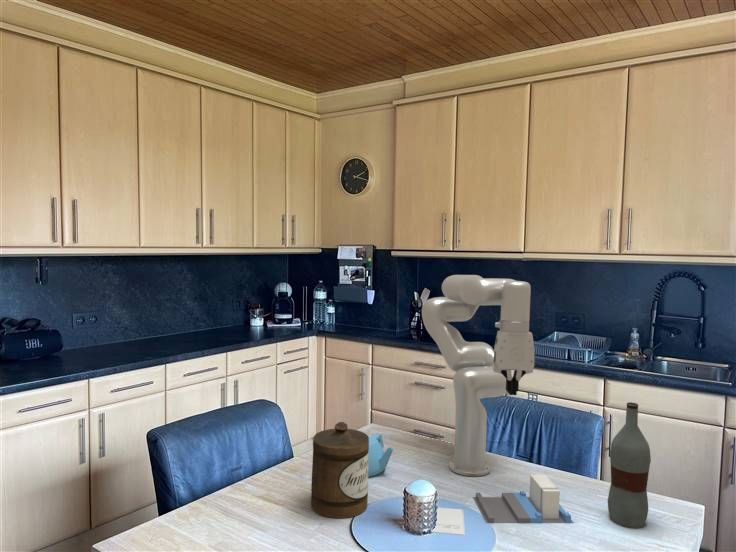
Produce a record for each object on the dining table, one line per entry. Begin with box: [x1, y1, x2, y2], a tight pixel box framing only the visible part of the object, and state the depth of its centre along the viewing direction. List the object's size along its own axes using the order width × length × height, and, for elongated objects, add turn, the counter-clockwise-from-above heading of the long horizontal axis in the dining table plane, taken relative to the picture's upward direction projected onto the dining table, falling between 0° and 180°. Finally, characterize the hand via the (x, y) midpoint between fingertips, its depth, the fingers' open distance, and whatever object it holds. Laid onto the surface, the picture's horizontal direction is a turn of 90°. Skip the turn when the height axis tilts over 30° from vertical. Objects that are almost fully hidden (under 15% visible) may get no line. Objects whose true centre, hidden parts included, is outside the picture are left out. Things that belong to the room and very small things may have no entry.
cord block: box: [529, 474, 561, 519], centre depth 141 cm, size 10×4×7 cm, turn 2°
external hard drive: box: [430, 507, 466, 536], centre depth 134 cm, size 2×8×12 cm
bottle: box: [607, 401, 652, 529], centre depth 137 cm, size 9×9×30 cm
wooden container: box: [310, 421, 370, 519], centre depth 142 cm, size 15×15×22 cm
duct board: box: [472, 490, 575, 524], centre depth 140 cm, size 14×22×3 cm, turn 92°
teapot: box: [366, 432, 394, 478], centre depth 165 cm, size 15×15×11 cm
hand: (511, 393), depth 147 cm, fingers closed
